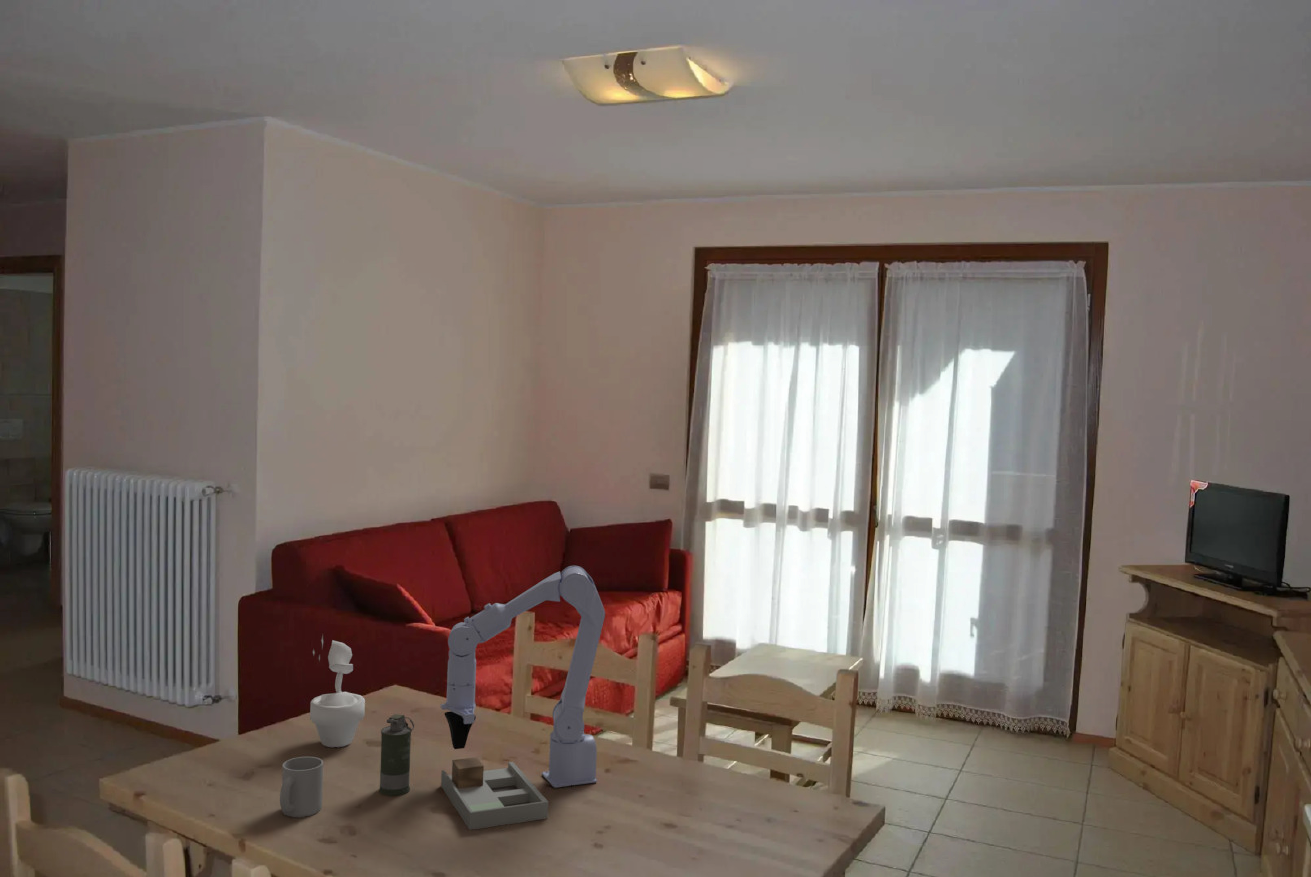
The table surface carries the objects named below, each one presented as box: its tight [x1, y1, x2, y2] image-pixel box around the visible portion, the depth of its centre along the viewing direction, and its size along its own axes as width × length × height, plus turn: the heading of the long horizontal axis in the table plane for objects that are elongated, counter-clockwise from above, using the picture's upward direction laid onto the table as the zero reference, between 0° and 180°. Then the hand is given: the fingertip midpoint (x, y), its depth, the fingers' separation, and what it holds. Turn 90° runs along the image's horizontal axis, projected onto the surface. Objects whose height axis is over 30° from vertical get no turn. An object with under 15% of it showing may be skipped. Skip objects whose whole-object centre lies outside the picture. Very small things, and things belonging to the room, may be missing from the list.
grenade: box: [378, 713, 415, 797], centre depth 203 cm, size 6×6×15 cm
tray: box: [440, 761, 549, 831], centre depth 200 cm, size 15×22×3 cm
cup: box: [279, 756, 324, 818], centre depth 191 cm, size 7×10×9 cm
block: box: [451, 756, 485, 789], centre depth 204 cm, size 5×5×4 cm
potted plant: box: [309, 634, 366, 748], centre depth 227 cm, size 13×12×25 cm
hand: (458, 747), depth 210 cm, fingers closed
